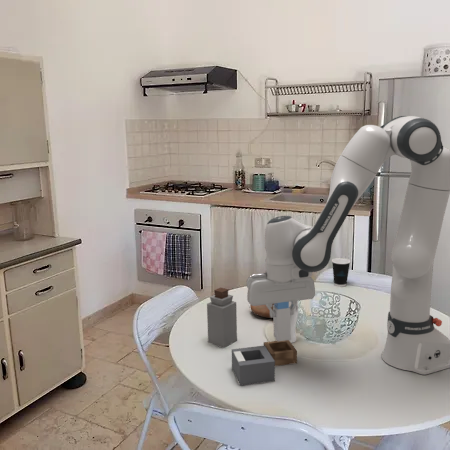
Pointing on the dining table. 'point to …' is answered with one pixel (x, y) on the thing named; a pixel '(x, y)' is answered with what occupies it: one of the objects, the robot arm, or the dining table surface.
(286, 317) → the plug
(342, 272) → the dixie cup
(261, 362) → the port
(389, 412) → the dining table surface
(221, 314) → the perfume bottle
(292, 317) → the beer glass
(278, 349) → the holster
